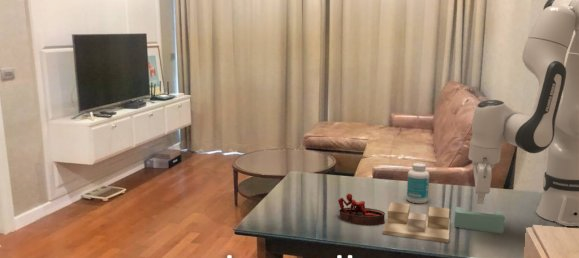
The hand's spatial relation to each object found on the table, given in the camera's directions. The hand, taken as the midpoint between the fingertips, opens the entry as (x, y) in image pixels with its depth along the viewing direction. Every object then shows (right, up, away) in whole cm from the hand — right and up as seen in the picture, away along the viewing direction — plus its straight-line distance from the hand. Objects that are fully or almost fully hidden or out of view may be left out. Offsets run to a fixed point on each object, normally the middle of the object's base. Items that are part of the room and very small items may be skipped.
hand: (479, 198), depth 147 cm
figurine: (-35, -9, +10) cm, 37 cm away
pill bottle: (-12, -5, +27) cm, 30 cm away
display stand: (-18, -10, +3) cm, 21 cm away
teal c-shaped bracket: (+2, -9, +7) cm, 12 cm away
